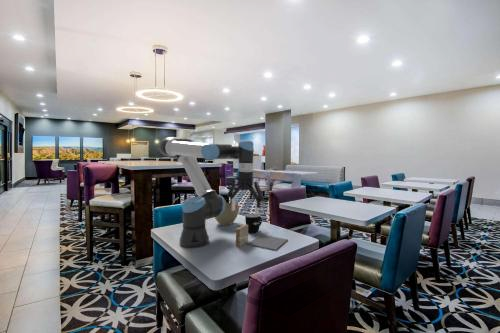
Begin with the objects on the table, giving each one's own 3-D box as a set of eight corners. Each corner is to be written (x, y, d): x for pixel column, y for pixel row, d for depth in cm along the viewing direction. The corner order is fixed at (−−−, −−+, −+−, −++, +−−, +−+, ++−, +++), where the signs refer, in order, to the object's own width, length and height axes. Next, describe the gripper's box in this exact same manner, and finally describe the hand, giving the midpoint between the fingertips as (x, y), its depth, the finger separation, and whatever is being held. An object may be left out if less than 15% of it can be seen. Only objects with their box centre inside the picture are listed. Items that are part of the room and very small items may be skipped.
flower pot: (206, 223, 165) (206, 205, 164) (228, 218, 177) (228, 201, 177) (222, 229, 152) (222, 210, 151) (244, 224, 164) (244, 206, 163)
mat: (247, 244, 128) (247, 243, 128) (261, 235, 142) (261, 234, 142) (275, 250, 120) (275, 249, 120) (287, 240, 134) (287, 239, 134)
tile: (236, 246, 126) (236, 228, 125) (245, 240, 134) (245, 224, 133) (239, 247, 125) (239, 229, 124) (248, 241, 132) (248, 224, 132)
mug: (252, 235, 142) (252, 218, 141) (242, 231, 148) (242, 215, 148) (266, 230, 150) (266, 214, 150) (256, 227, 157) (256, 211, 156)
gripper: (221, 170, 128) (220, 210, 130) (265, 173, 117) (264, 217, 119) (228, 169, 135) (227, 207, 136) (271, 172, 124) (269, 213, 125)
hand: (244, 212), depth 128 cm, fingers open, 13 cm apart
